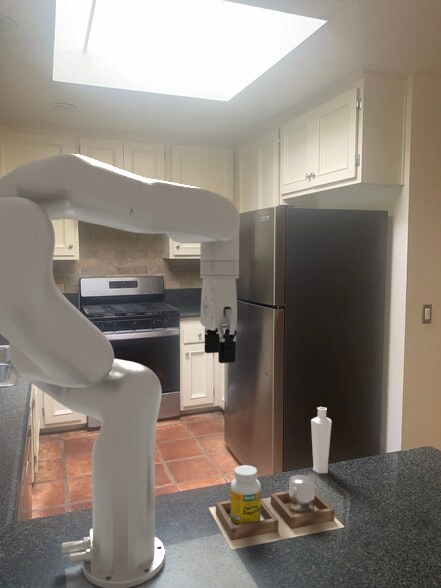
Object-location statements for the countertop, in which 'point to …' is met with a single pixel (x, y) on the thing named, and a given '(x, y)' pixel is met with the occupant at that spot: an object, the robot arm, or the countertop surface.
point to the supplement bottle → (245, 496)
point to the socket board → (275, 521)
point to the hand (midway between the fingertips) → (219, 357)
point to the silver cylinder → (301, 494)
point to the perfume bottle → (321, 440)
